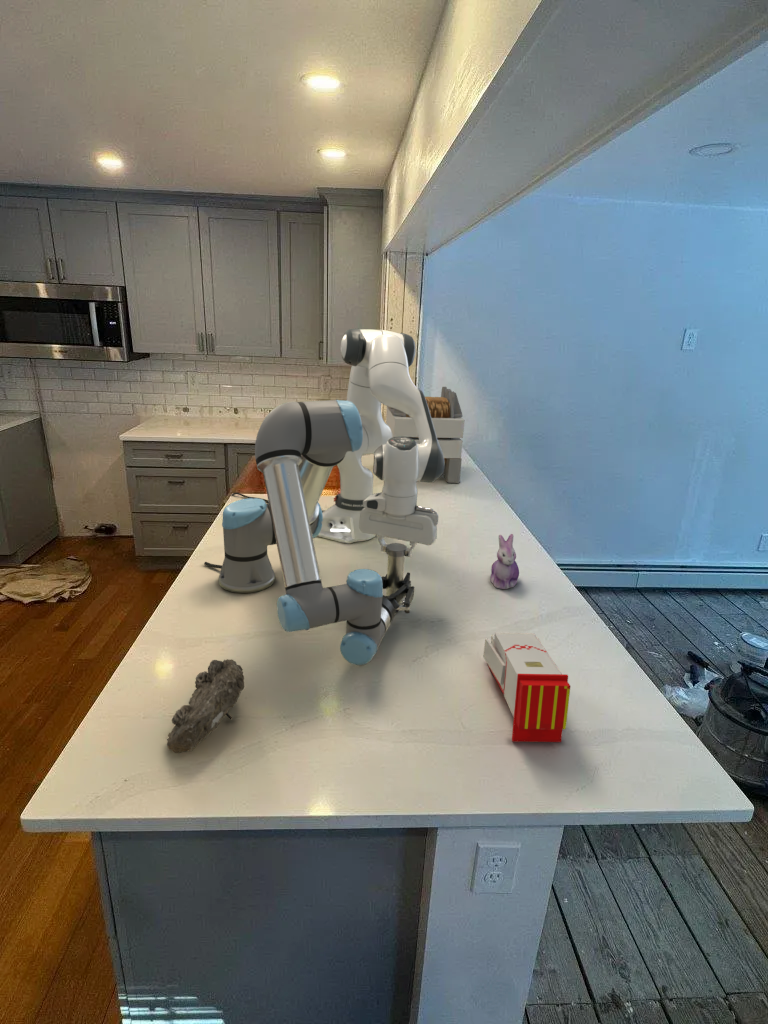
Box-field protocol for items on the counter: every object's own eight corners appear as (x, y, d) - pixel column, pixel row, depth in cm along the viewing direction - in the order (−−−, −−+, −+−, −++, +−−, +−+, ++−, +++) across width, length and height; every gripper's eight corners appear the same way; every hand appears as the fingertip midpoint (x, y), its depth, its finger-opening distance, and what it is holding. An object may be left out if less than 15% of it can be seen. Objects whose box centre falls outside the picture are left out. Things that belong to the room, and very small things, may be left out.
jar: (395, 612, 148) (398, 553, 143) (382, 606, 151) (385, 548, 145) (404, 606, 152) (408, 548, 146) (391, 600, 154) (394, 543, 148)
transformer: (382, 463, 289) (386, 382, 275) (445, 464, 293) (451, 384, 279) (390, 482, 257) (394, 392, 243) (460, 483, 261) (468, 394, 247)
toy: (532, 616, 130) (580, 681, 101) (527, 670, 133) (572, 749, 103) (479, 615, 129) (512, 680, 100) (475, 669, 132) (506, 748, 103)
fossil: (192, 660, 117) (244, 628, 112) (224, 691, 120) (276, 661, 115) (142, 746, 98) (202, 712, 93) (182, 779, 101) (242, 748, 96)
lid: (398, 559, 142) (399, 553, 142) (381, 553, 145) (382, 547, 145) (410, 552, 146) (411, 546, 146) (394, 547, 149) (394, 541, 149)
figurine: (502, 593, 161) (508, 544, 156) (480, 578, 169) (486, 531, 164) (528, 587, 165) (535, 539, 160) (505, 572, 173) (511, 527, 168)
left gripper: (340, 624, 136) (368, 582, 157) (410, 637, 132) (430, 593, 153) (340, 597, 133) (369, 558, 155) (412, 609, 129) (431, 567, 151)
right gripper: (442, 506, 141) (438, 556, 145) (367, 493, 148) (365, 542, 152) (435, 513, 135) (431, 566, 140) (357, 500, 142) (355, 550, 147)
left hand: (399, 575), depth 154 cm, fingers closed on jar, 4 cm apart
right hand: (396, 553), depth 146 cm, fingers closed on lid, 5 cm apart
